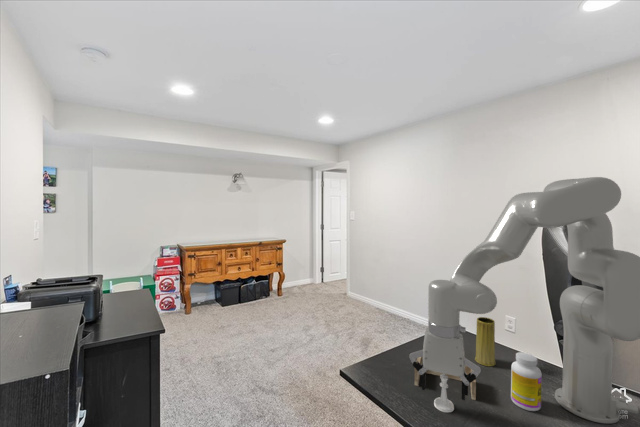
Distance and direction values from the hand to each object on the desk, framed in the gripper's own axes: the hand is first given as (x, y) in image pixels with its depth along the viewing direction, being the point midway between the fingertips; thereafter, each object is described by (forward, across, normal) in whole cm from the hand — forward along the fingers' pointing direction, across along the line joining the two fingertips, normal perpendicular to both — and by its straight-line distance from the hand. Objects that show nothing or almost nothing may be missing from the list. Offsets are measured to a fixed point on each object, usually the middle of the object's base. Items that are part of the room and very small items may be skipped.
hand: (443, 391), depth 78 cm
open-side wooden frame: (+4, 0, -10) cm, 11 cm away
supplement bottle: (+4, -20, -10) cm, 23 cm away
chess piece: (+4, 0, 0) cm, 4 cm away
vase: (+4, -12, -29) cm, 32 cm away
